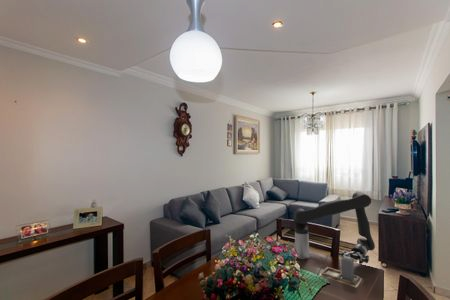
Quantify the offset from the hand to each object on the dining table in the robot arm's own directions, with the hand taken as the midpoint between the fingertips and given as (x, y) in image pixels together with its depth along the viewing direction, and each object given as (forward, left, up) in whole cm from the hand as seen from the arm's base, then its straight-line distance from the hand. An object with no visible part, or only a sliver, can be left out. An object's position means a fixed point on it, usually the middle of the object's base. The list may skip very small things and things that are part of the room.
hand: (351, 260), depth 138 cm
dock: (-4, -8, -9) cm, 12 cm away
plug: (0, -8, -8) cm, 11 cm away
